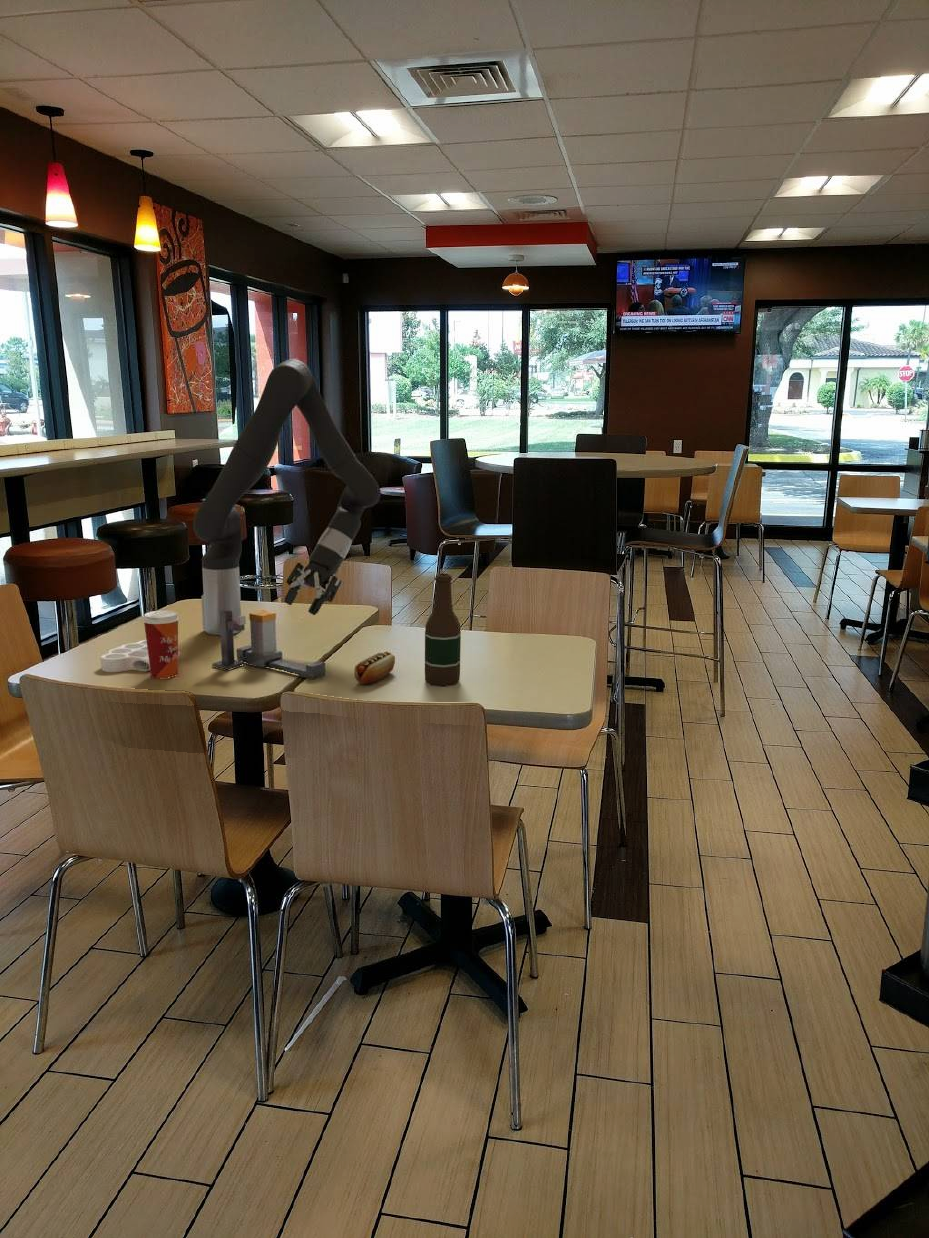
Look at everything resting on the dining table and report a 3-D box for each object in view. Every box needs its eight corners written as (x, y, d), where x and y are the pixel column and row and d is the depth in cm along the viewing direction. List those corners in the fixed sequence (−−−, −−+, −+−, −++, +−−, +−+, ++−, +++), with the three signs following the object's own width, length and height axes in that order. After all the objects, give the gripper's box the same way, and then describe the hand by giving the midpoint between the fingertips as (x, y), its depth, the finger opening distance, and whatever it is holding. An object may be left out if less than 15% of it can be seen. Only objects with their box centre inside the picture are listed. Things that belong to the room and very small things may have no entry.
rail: (237, 661, 215) (236, 648, 214) (249, 657, 218) (249, 645, 217) (313, 679, 202) (312, 666, 201) (325, 675, 205) (325, 662, 204)
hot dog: (400, 672, 208) (400, 651, 207) (371, 689, 197) (371, 666, 195) (380, 669, 210) (380, 648, 209) (351, 685, 199) (350, 663, 197)
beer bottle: (423, 676, 206) (424, 571, 200) (458, 676, 206) (460, 571, 201) (425, 687, 198) (426, 578, 192) (461, 686, 199) (463, 578, 193)
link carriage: (246, 663, 212) (243, 613, 209) (264, 658, 216) (262, 609, 214) (264, 668, 209) (262, 617, 206) (282, 662, 213) (280, 612, 210)
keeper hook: (212, 666, 210) (209, 611, 207) (229, 661, 214) (226, 607, 211) (236, 673, 206) (234, 616, 203) (253, 667, 210) (251, 612, 207)
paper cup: (171, 681, 199) (167, 618, 196) (139, 678, 200) (135, 616, 197) (189, 671, 206) (185, 610, 203) (158, 668, 208) (154, 608, 205)
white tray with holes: (141, 677, 203) (86, 670, 207) (188, 656, 219) (136, 650, 224) (140, 663, 202) (84, 656, 206) (187, 643, 219) (135, 637, 223)
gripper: (302, 536, 226) (270, 594, 223) (343, 551, 218) (310, 610, 215) (319, 550, 232) (288, 606, 229) (360, 564, 224) (328, 623, 221)
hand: (299, 608), depth 222 cm, fingers open, 8 cm apart
